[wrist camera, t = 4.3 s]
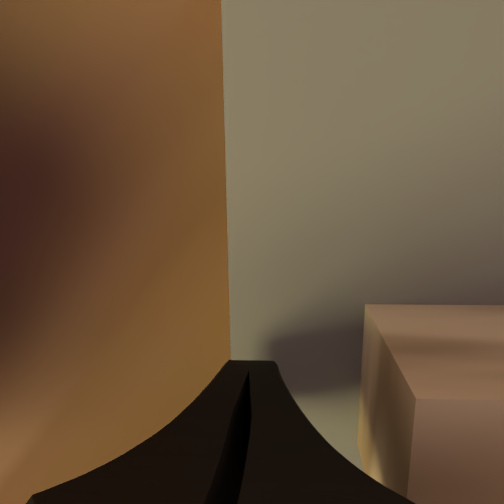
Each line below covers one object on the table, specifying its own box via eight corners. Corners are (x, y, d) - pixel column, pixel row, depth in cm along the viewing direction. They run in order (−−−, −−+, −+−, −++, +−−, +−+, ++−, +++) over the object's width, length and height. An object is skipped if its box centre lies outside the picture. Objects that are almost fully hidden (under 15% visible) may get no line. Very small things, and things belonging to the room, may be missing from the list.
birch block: (510, 447, 13) (630, 605, 9) (357, 444, 13) (397, 595, 9) (533, 305, 12) (685, 404, 7) (365, 303, 12) (415, 398, 8)
